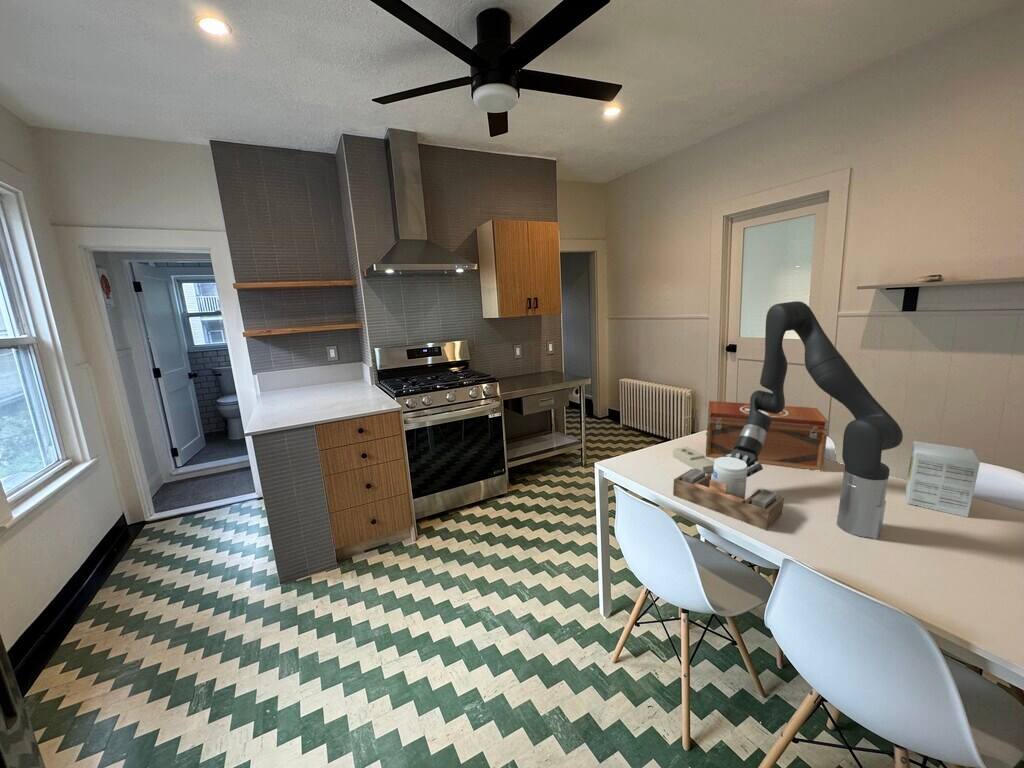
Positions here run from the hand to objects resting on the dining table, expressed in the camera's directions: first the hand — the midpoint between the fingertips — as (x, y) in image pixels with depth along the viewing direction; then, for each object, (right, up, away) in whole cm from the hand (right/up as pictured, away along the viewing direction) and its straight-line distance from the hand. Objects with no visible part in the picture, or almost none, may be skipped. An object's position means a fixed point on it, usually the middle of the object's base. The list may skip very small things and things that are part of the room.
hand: (732, 484), depth 130 cm
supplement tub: (-3, -6, -2) cm, 7 cm away
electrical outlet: (+1, 0, +30) cm, 30 cm away
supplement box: (+60, -4, -7) cm, 61 cm away
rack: (-4, -6, -2) cm, 8 cm away
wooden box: (+31, +3, +35) cm, 47 cm away
